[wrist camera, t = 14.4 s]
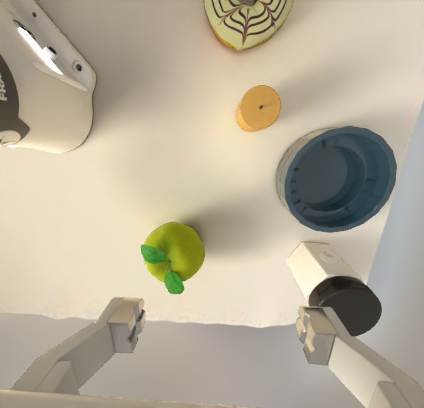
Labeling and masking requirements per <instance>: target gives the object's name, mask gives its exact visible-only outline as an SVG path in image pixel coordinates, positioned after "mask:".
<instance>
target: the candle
mask: <svg viewBox="0 0 424 408" xmlns="http://www.w3.org/2000/svg"><path fill="white" fill-rule="evenodd" d="M280 109H281V102H280V98H279V96H278V94H277V92H276V91H275V90H274V89H272V88H271V87H269V86H265V85H260V86H256V87H253V88H251V89H250V90H249V91H248V92H247V93H246V94H245V95H244V97H243V99H242V101H241V103H240V105H239V108H238V110H237V114H236V118H237V122H238V124H239V126H240V127H241V128H242V129H243V130H245V131H249V132H253V131H257V130H260V129H263V128H266V127H268V126H270V125H271V124H273V123H274V122H275V120H276V119H277V117H278V115H279V113H280Z"/></svg>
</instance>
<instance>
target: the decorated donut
mask: <svg viewBox="0 0 424 408" xmlns="http://www.w3.org/2000/svg"><path fill="white" fill-rule="evenodd" d="M293 1H294V0H257V1H256V3H255V4H254V5H253V6H247V5H245V4H242V3H240V1H239V0H204V4H205V10H206V13H207V15H208V18H209V21H210V24H211V26H212V29H213V31H214V33H215V35H216V37H217V38H218V39H219V40H220V41H221V42H222V43H223V44H225V45H226V46H228V47H230V48H232V49H236V50H244V49H248V48H251V47H254V46H258V45H260V44H262V43H263V42H265V41H267V40H268V39H270V38H271V37H272V36H273V35H274V33H276V31H278V30H279V28H280V27H281V26H282V24H283V23H284V22H285V20H286V18H287V16H288V14H289V12H290V10H291V7H292V4H293Z"/></svg>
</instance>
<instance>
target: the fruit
mask: <svg viewBox="0 0 424 408" xmlns="http://www.w3.org/2000/svg"><path fill="white" fill-rule="evenodd" d="M141 252H142V255H143V257H144V261H145V264H146V266H147V268H148V270H149V272H150V273H151V274H152V275H153V276H155V277H156V278H157V279H158V280H160V281H162V282H165V285H166V287H167V289H168V291H169V292H170V293H171V294H181V293H182V292H183V291H184V286H183V283H182V281H186V280H187V279H189V278H191V277H192V276H193V275H194V274H195V273H196V272H197V271H198V270H199V269H200V267H201V266H202V264H203V261H204V256H205V252H204V247H203V244H202V241H201V239H200V238H199V236H198V234H197V233H196V232H195V230H194V229H193V228H191V227H189V226H187V225H184V224H181V223H177V222H170V223H167V224H164V225H162V226H160V227H159V228H157V229H156V230H154V231H153V232H152V233H151V234H150V235H149V236H148V238H147V239H146V241H145V244H144V245H141Z"/></svg>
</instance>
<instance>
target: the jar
mask: <svg viewBox="0 0 424 408" xmlns="http://www.w3.org/2000/svg"><path fill="white" fill-rule="evenodd" d="M286 262H287V264H288V266H289V268H290V270H291V273H292V275H293V277H294V279H295V281H296V283H297V285H298V287H299V288H300V290H301V292H302V294H303V296H304V298H305V300H306V302H307V304H308V306H309V307H331V308H332V309H333V310H334V312H335V313H336V315H337V316H338V318H339V319H340V321H341V322H342V323H343V325H344V326H345V328H346V329H347V331H348V332H349V334H350V335H351V336H353V337H355V336H358V335H361V334H363V333H365V332H367V331H369V330H370V329H371V328H372V327H374V326H375V324H376V323H377V322H378V320H379V319H380V316H381V312H382V308H381V303H380V301H379V299H378V298H377V297H376V295H375V294H374V293H373V292H372V291H371V289H369V288H368V286H366V285H365V284H364V283H363V281H362V278H361V276H360V275H359V274H358V273H357V272H356V271H355V270H354V269H353V268H352V267H351V266H350V265H349V264H347V263H346V262H345V261H344V260H343V259H342V258H341V257H340V256H339V255H338V254H337V253H336V252H335V251H334V250H333V249H332V248H331V247H330V246H329V245H328V244H324V243H307V242H302V243H301V244H300V245H299V246H298V247H297V248H296V249H295V250H294V252H293V253H292V254H291V255H290V256H289V257H288V258H287V259H286Z"/></svg>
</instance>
